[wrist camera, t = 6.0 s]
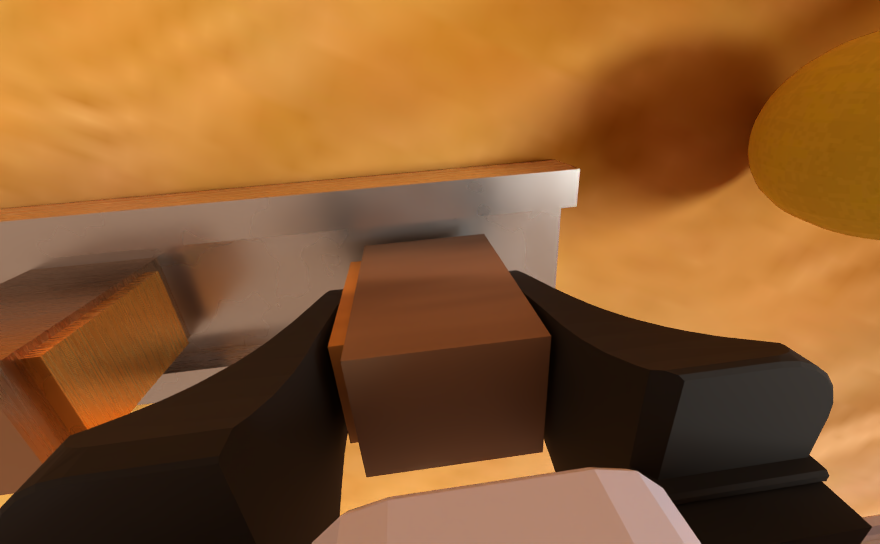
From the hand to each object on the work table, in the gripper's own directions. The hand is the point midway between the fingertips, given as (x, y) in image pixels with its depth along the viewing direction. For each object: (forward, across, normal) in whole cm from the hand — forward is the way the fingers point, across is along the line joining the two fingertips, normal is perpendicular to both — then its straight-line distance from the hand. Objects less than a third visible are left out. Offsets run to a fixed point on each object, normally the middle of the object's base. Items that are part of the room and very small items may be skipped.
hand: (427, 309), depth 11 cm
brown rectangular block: (+2, 0, 0) cm, 2 cm away
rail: (+3, +6, 0) cm, 7 cm away
